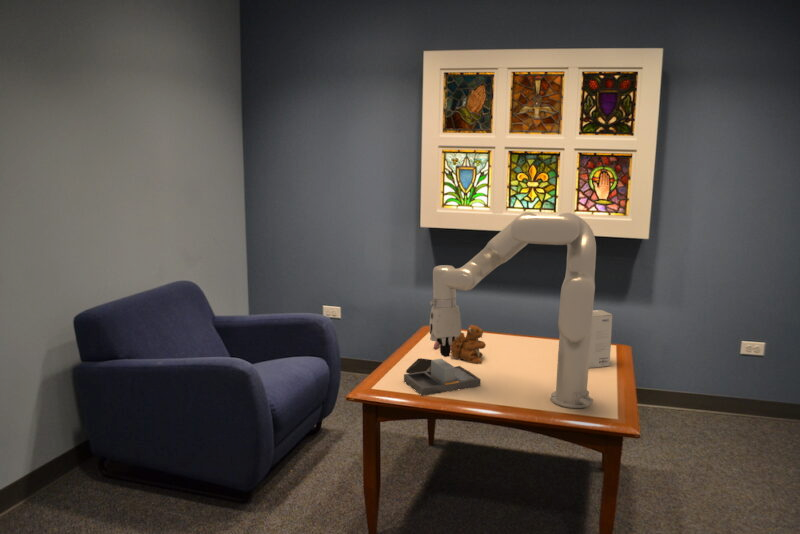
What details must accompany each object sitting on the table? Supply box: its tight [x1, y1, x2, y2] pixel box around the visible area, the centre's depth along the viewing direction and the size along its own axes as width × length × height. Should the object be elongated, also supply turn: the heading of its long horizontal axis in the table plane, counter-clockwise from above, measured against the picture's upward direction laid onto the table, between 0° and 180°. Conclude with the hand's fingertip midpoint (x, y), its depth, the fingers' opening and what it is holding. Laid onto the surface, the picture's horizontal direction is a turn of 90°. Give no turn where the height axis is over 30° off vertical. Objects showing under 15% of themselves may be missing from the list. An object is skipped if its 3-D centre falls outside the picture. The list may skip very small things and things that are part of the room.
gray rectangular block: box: [430, 358, 456, 384], centre depth 210 cm, size 10×4×6 cm, turn 24°
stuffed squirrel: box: [450, 324, 486, 365], centre depth 236 cm, size 10×14×13 cm
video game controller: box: [433, 341, 452, 351], centre depth 247 cm, size 10×5×7 cm, turn 60°
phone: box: [405, 358, 432, 374], centre depth 226 cm, size 8×1×15 cm
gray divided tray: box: [403, 365, 481, 397], centre depth 210 cm, size 14×22×3 cm, turn 115°
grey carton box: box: [589, 309, 614, 369], centre depth 229 cm, size 16×8×20 cm, turn 105°
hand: (445, 355), depth 209 cm, fingers closed
